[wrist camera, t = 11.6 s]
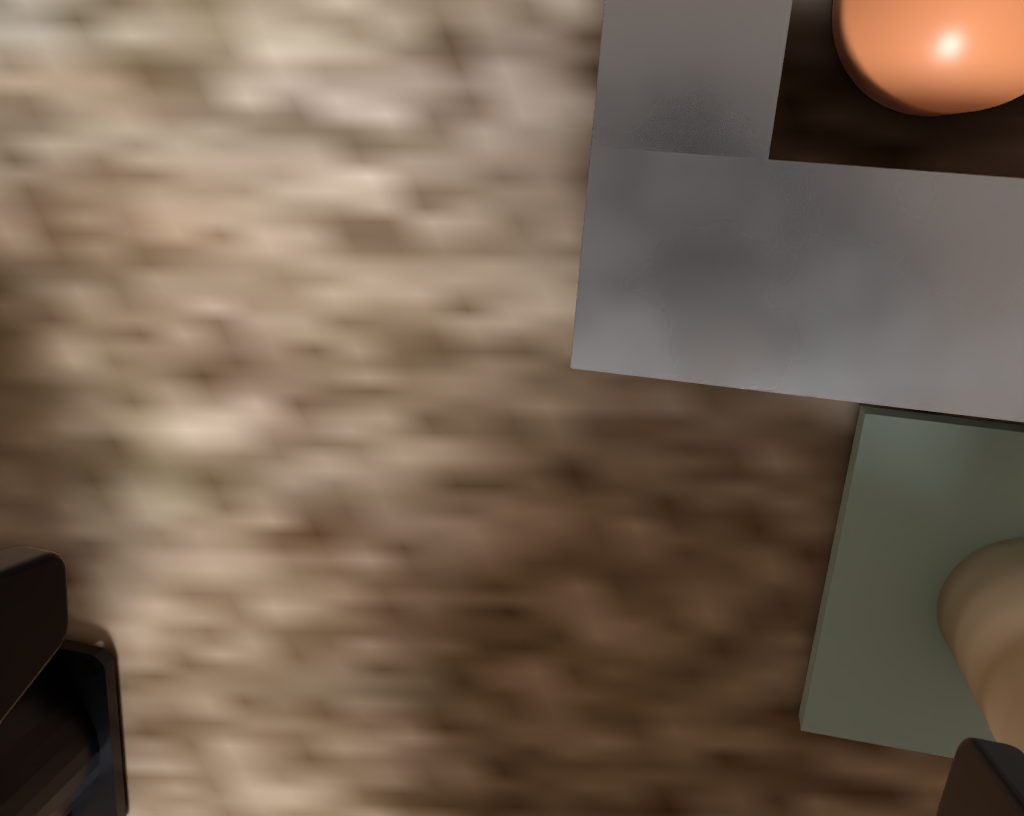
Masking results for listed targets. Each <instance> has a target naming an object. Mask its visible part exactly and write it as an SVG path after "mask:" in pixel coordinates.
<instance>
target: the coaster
mask: <svg viewBox="0 0 1024 816" xmlns="http://www.w3.org/2000/svg"><path fill="white" fill-rule="evenodd" d="M1016 538H1024V425H1018V424H1009V423H1001V422H993V421H984V420H976V419H968V418H959V417H951V416H943V415H934V414H926V413H918V412H909V411H901V410H893V409H884V408H876V407H868V406H860V410H859V415H858V420H857V425H856V430H855V435H854V440H853V445H852V450H851V455H850V460H849V465H848V470H847V475H846V480H845V485H844V490H843V495H842V500H841V505H840V510H839V515H838V520H837V525H836V530H835V535H834V540H833V545H832V550H831V555H830V560H829V565H828V570H827V575H826V580H825V585H824V590H823V595H822V600H821V605H820V610H819V615H818V620H817V625H816V630H815V635H814V640H813V645H812V650H811V655H810V660H809V665H808V670H807V675H806V680H805V685H804V690H803V695H802V700H801V705H800V710H799V721H800V727H801V731H806V732H811V733H817V734H822V735H828V736H833V737H839V738H844V739H850V740H855V741H860V742H866V743H871V744H877V745H882V746H888V747H893V748H899V749H904V750H910V751H915V752H921V753H926V754H931V755H937V756H942V757H948V758H953V759H954V756H955V753H956V750H957V748H958V746H959V745H960V743H961V742H962V741H963V740H964V739H966V738H969V737H973V738H979V739H984V740H989V741H994V742H996V740H995V738H994V736H993V734H992V732H991V730H990V728H989V726H988V724H987V722H986V720H985V718H984V716H983V714H982V712H981V710H980V708H979V706H978V704H977V702H976V700H975V698H974V696H973V694H972V692H971V690H970V688H969V686H968V684H967V682H966V680H965V678H964V676H963V674H962V673H961V671H960V669H959V667H958V665H957V663H956V661H955V659H954V657H953V655H952V653H951V651H950V649H949V647H948V645H947V643H946V641H945V639H944V637H943V635H942V633H941V630H940V627H939V624H938V617H937V604H938V598H939V595H940V591H941V588H942V586H943V584H944V582H945V580H946V579H947V577H948V576H949V574H950V573H951V571H952V570H953V569H954V568H955V567H956V566H957V565H958V564H959V563H960V562H961V561H962V560H964V559H965V558H966V557H967V556H969V555H970V554H972V553H974V552H975V551H977V550H979V549H981V548H983V547H985V546H988V545H990V544H993V543H996V542H1000V541H1004V540H1009V539H1016Z"/></svg>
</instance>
